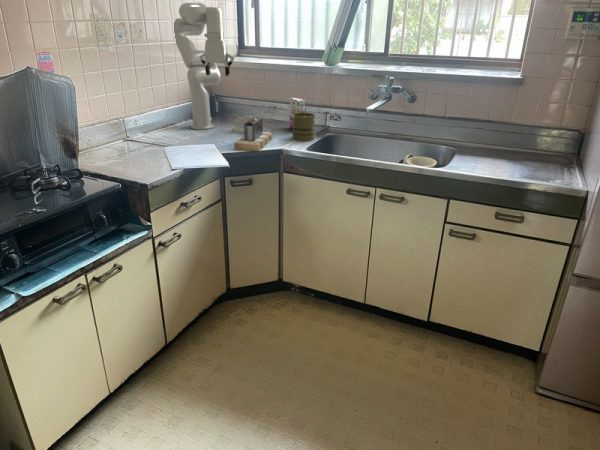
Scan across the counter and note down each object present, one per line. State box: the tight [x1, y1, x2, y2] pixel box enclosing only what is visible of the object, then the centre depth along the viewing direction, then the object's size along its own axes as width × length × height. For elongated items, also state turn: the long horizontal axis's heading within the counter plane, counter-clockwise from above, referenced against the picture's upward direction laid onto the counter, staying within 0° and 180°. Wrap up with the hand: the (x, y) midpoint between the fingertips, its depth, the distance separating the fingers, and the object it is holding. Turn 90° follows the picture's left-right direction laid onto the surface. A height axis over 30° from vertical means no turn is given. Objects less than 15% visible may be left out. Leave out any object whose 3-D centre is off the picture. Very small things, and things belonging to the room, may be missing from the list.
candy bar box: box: [289, 97, 307, 130], centre depth 242 cm, size 11×5×16 cm, turn 25°
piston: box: [291, 112, 316, 142], centre depth 226 cm, size 11×12×11 cm
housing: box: [243, 116, 264, 141], centre depth 214 cm, size 5×14×8 cm, turn 168°
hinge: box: [231, 114, 259, 135], centre depth 236 cm, size 17×5×10 cm, turn 51°
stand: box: [233, 131, 274, 152], centre depth 216 cm, size 24×12×3 cm, turn 168°
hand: (217, 75), depth 215 cm, fingers open, 9 cm apart
